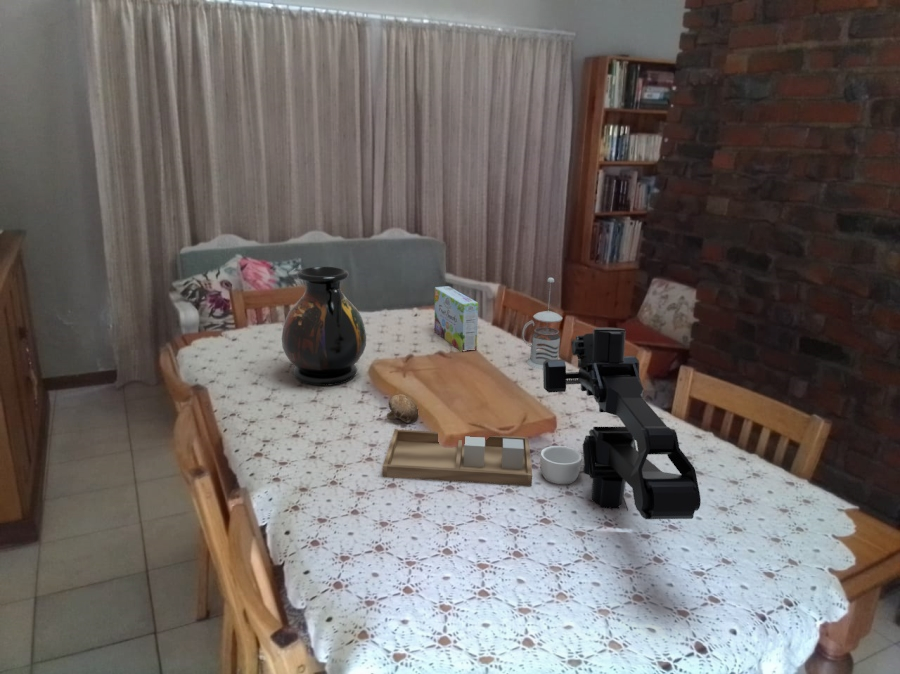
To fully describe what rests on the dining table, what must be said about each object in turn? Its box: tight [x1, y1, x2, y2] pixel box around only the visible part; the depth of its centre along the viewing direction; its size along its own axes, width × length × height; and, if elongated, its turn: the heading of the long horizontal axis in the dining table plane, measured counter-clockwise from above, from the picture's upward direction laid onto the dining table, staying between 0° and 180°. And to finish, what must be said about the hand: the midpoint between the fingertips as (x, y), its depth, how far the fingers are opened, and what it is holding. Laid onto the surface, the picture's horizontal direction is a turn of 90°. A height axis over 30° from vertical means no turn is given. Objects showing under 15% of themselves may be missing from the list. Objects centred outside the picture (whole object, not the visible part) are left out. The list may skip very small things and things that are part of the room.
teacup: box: [540, 445, 584, 485], centre depth 131 cm, size 10×8×5 cm
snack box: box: [434, 285, 479, 352], centre depth 209 cm, size 21×6×15 cm, turn 25°
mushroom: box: [386, 393, 419, 424], centre depth 154 cm, size 8×8×6 cm
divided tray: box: [382, 428, 533, 487], centre depth 135 cm, size 16×28×3 cm, turn 86°
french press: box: [521, 277, 563, 370], centre depth 190 cm, size 10×12×25 cm
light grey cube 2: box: [502, 438, 524, 470], centre depth 134 cm, size 4×4×4 cm
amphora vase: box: [281, 266, 367, 386], centre depth 175 cm, size 22×22×28 cm
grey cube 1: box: [463, 436, 485, 467], centre depth 135 cm, size 4×4×4 cm
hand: (579, 366), depth 143 cm, fingers open, 9 cm apart
